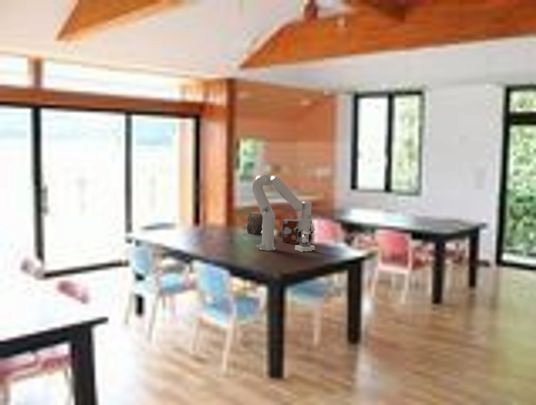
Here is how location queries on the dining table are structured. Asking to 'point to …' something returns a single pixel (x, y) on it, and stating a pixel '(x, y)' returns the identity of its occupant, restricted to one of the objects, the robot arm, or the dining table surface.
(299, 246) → the camera body
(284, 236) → the brown patterned box
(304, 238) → the lens
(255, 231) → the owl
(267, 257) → the dining table surface
